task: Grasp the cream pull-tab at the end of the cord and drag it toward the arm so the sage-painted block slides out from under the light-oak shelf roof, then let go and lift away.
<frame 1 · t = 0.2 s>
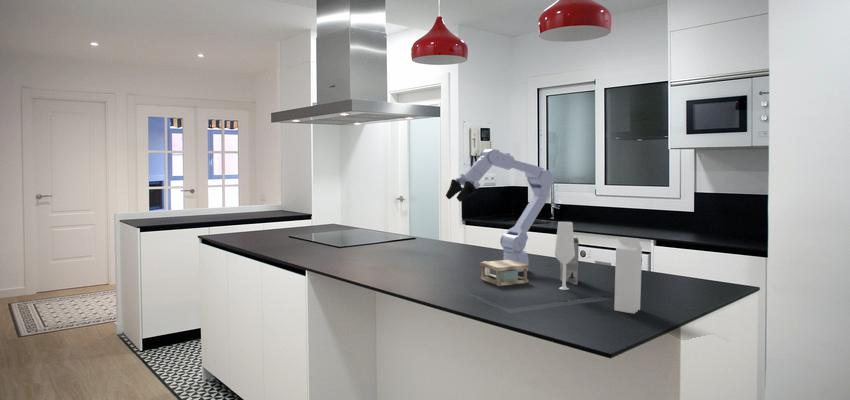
hand: (452, 198, 213), 31 cm above the counter, tool tilted 45°, fingers open, 7 cm apart
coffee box: (568, 282, 212), on the counter
milk: (627, 310, 172), on the counter
champagne flute: (563, 292, 196), on the counter
block: (497, 271, 212), point 4 cm above the counter, slide at 0.0 cm
shelf: (500, 283, 210), on the counter
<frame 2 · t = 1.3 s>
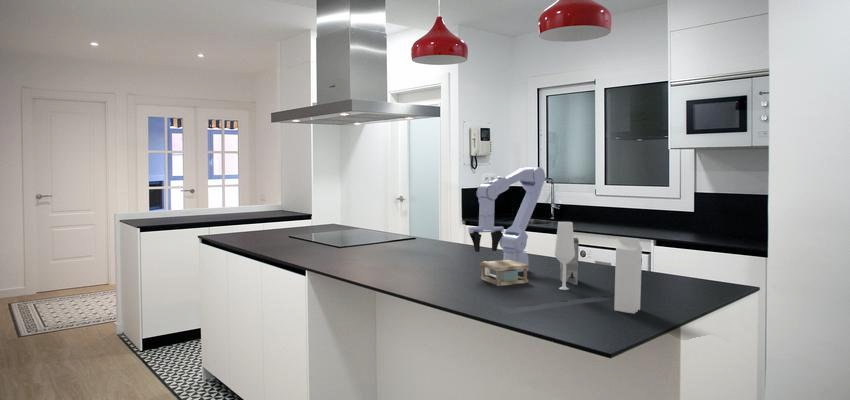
hand: (485, 251, 218), 10 cm above the counter, tool pointing down, fingers open, 7 cm apart
nothing on the counter moved.
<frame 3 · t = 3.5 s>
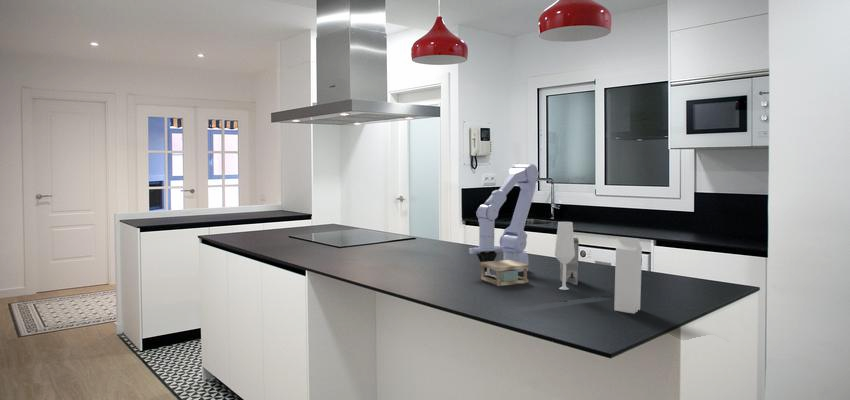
hand: (486, 271, 218), 3 cm above the counter, tool pointing down, fingers closed on block
block: (497, 271, 212), point 4 cm above the counter, slide at 0.0 cm, touching gripper
everything else where it was.
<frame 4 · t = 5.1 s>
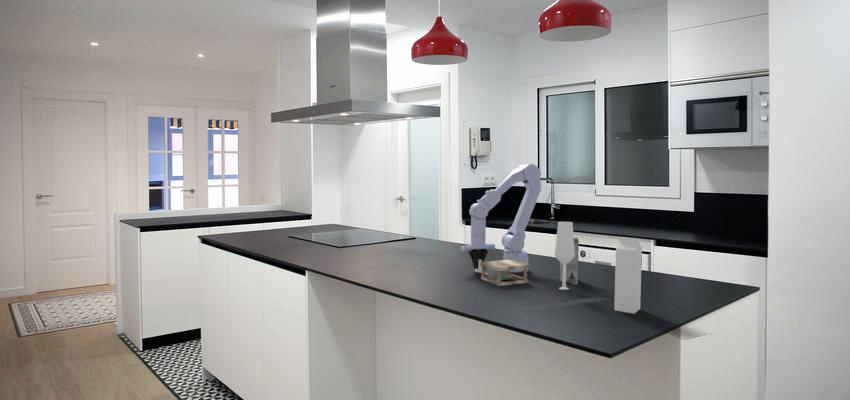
hand: (477, 268, 224), 3 cm above the counter, tool pointing down, fingers closed on block
block: (488, 269, 217), point 4 cm above the counter, slide at 6.2 cm, touching gripper
everything else where it was.
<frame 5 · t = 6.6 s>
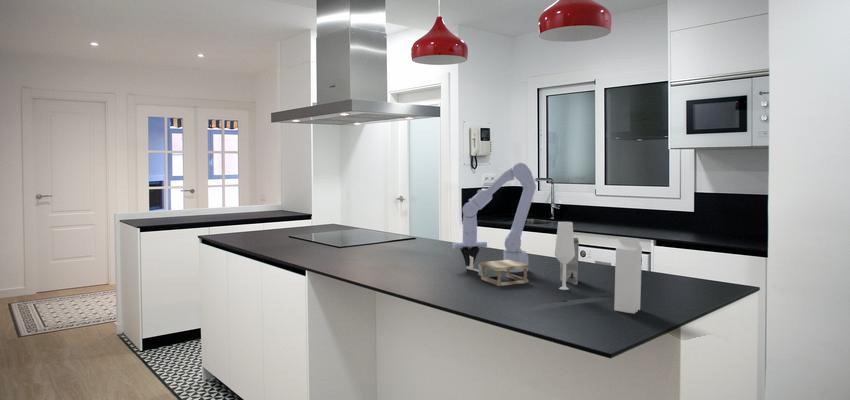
hand: (469, 265, 230), 3 cm above the counter, tool pointing down, fingers closed on block
block: (479, 266, 223), point 4 cm above the counter, slide at 12.5 cm, touching gripper
everything else where it was.
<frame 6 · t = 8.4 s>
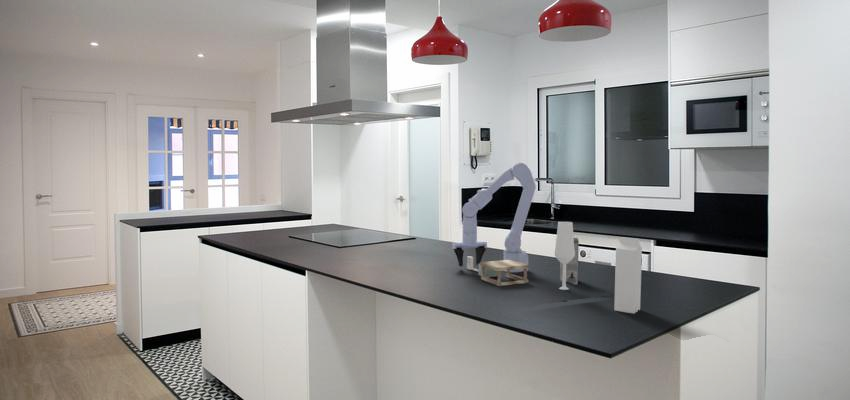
hand: (469, 265, 230), 3 cm above the counter, tool pointing down, fingers open, 7 cm apart
block: (479, 266, 223), point 4 cm above the counter, slide at 12.6 cm
everything else where it was.
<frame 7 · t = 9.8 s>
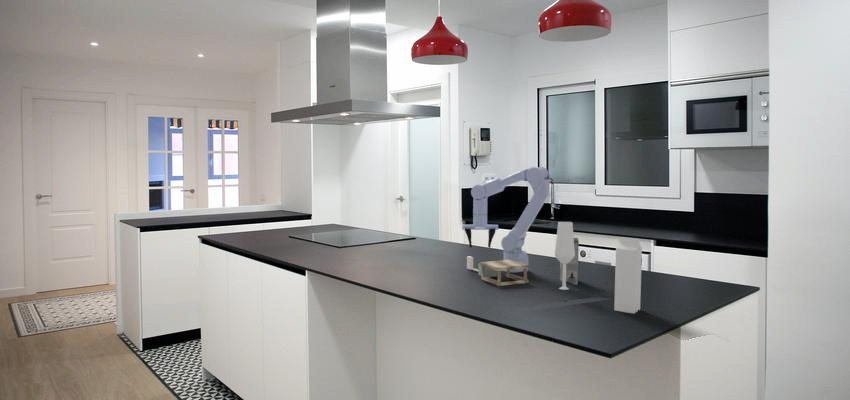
hand: (479, 247, 234), 9 cm above the counter, tool pointing down, fingers open, 7 cm apart
nothing on the counter moved.
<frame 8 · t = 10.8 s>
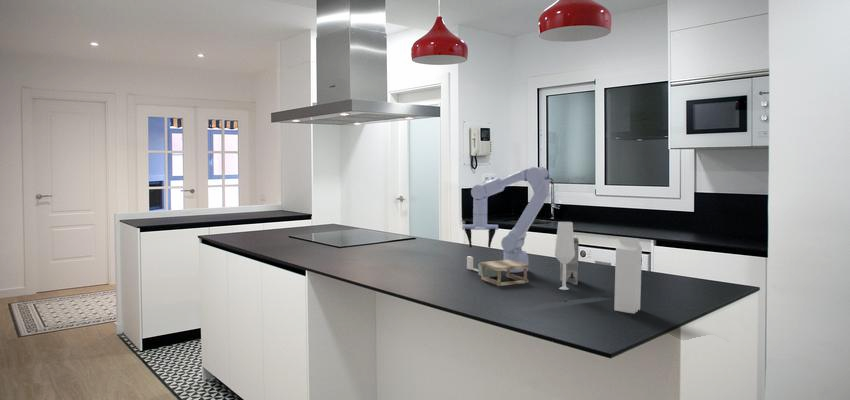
hand: (479, 247, 234), 9 cm above the counter, tool pointing down, fingers open, 7 cm apart
nothing on the counter moved.
at the end: block slide at 12.6 cm; the gripper is holding nothing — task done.
